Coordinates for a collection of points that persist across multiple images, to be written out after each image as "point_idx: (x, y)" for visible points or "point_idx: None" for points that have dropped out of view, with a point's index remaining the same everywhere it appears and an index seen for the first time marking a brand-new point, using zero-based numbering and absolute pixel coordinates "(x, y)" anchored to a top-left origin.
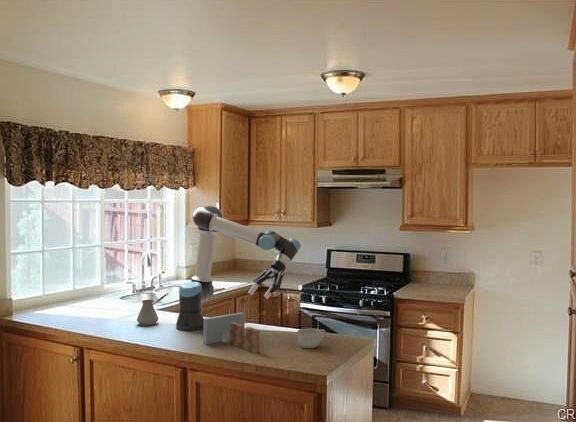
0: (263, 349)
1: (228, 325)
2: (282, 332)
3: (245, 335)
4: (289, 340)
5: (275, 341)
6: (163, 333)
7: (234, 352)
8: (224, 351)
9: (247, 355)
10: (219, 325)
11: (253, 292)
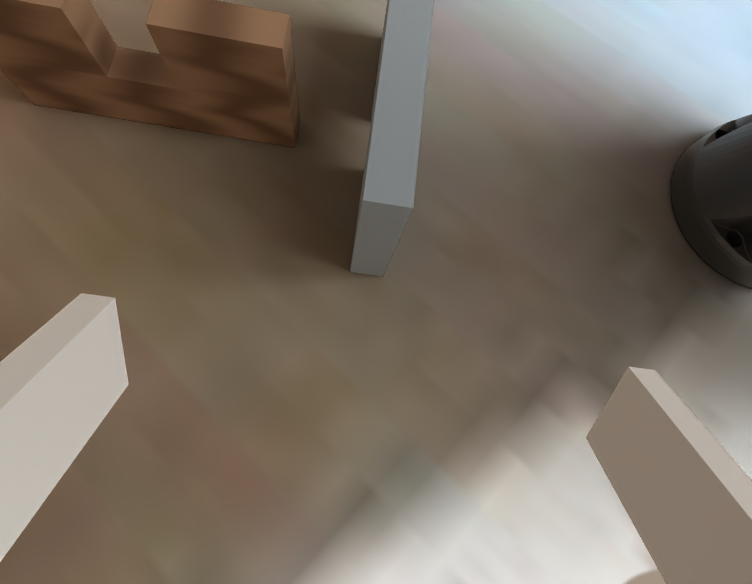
0: (52, 157)
1: (374, 102)
2: (235, 578)
3: (100, 24)
4: None
5: None
6: (702, 46)
7: None
8: None
9: None
10: (384, 29)
11: (624, 487)
